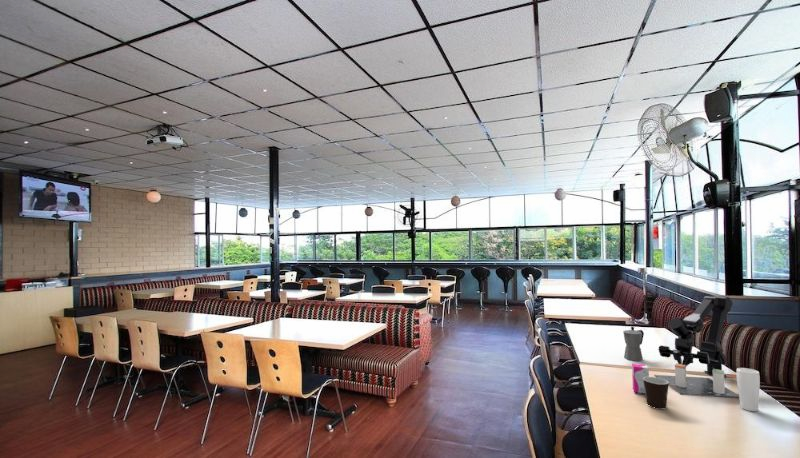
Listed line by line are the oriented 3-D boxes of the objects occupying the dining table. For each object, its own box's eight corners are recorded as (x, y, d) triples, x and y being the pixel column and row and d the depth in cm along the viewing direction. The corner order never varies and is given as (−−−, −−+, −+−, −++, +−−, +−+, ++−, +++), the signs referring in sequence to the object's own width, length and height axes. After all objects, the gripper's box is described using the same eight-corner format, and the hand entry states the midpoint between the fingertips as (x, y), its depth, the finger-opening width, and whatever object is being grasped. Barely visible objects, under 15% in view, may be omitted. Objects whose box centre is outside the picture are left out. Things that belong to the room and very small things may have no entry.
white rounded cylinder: (765, 413, 147) (763, 373, 148) (745, 412, 149) (743, 372, 149) (753, 406, 154) (751, 368, 155) (733, 405, 155) (732, 367, 156)
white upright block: (714, 390, 169) (713, 368, 170) (725, 392, 167) (724, 370, 167) (713, 392, 167) (712, 370, 168) (724, 394, 164) (723, 372, 165)
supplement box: (647, 390, 171) (646, 364, 171) (649, 395, 165) (649, 368, 166) (632, 388, 173) (631, 362, 174) (634, 393, 168) (633, 366, 168)
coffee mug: (661, 412, 149) (660, 385, 149) (639, 403, 157) (638, 378, 157) (678, 406, 154) (677, 380, 155) (655, 398, 162) (655, 374, 162)
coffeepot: (633, 362, 212) (632, 329, 213) (617, 358, 220) (616, 326, 221) (652, 359, 218) (651, 327, 219) (636, 355, 226) (635, 324, 227)
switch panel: (654, 375, 190) (654, 374, 190) (708, 378, 186) (708, 377, 186) (680, 394, 166) (680, 393, 166) (743, 398, 162) (743, 397, 162)
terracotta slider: (676, 384, 177) (676, 363, 177) (686, 386, 174) (686, 365, 175) (675, 385, 175) (674, 364, 175) (685, 387, 172) (684, 366, 172)
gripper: (658, 328, 187) (653, 355, 179) (707, 334, 174) (704, 364, 166) (663, 342, 192) (658, 369, 184) (710, 349, 179) (707, 379, 171)
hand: (681, 370), depth 176 cm, fingers closed, pressing on terracotta slider
